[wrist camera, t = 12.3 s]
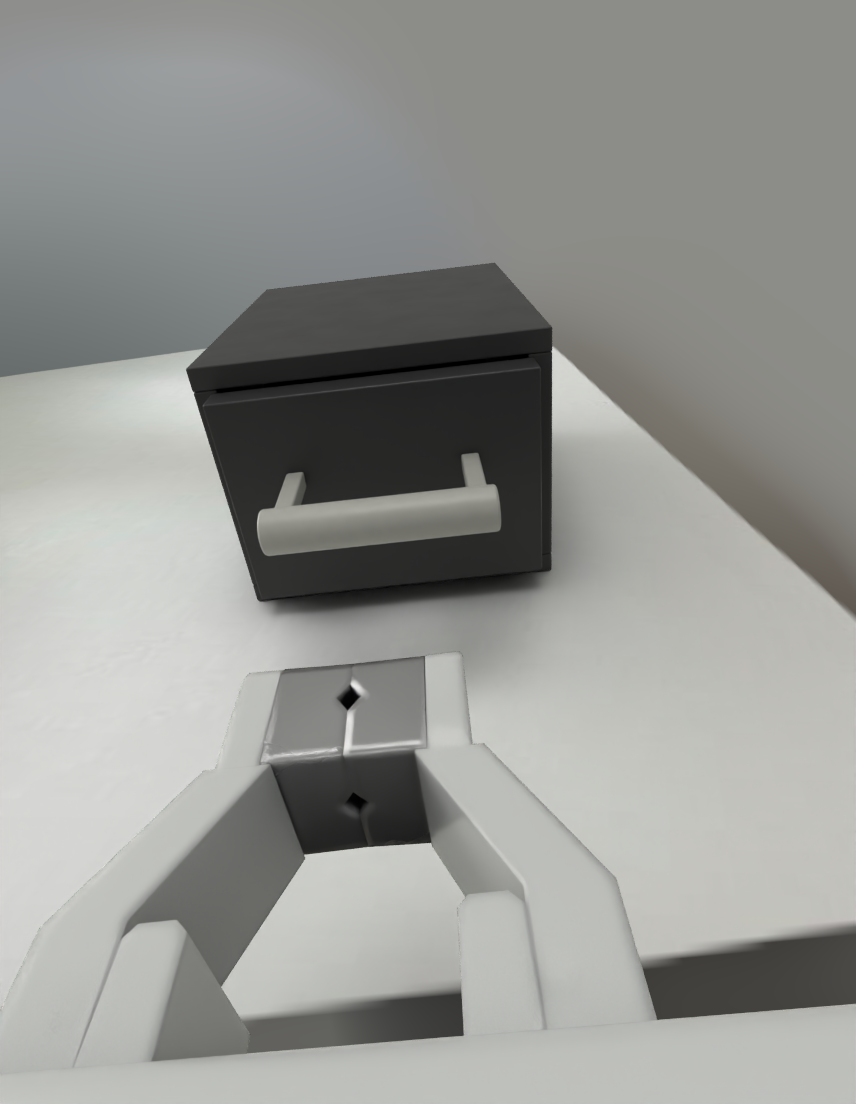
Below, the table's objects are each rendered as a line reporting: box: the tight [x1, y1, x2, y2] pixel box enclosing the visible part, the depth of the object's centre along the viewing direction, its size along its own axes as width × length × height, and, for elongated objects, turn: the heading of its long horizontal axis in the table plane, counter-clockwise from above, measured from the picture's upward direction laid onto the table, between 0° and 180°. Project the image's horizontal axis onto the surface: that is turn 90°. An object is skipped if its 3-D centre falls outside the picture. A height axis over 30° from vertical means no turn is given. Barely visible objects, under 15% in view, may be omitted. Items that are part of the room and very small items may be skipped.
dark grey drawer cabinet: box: [186, 263, 552, 601], centre depth 29 cm, size 15×12×10 cm
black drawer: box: [203, 356, 542, 599], centre depth 26 cm, size 18×11×8 cm, turn 2°
